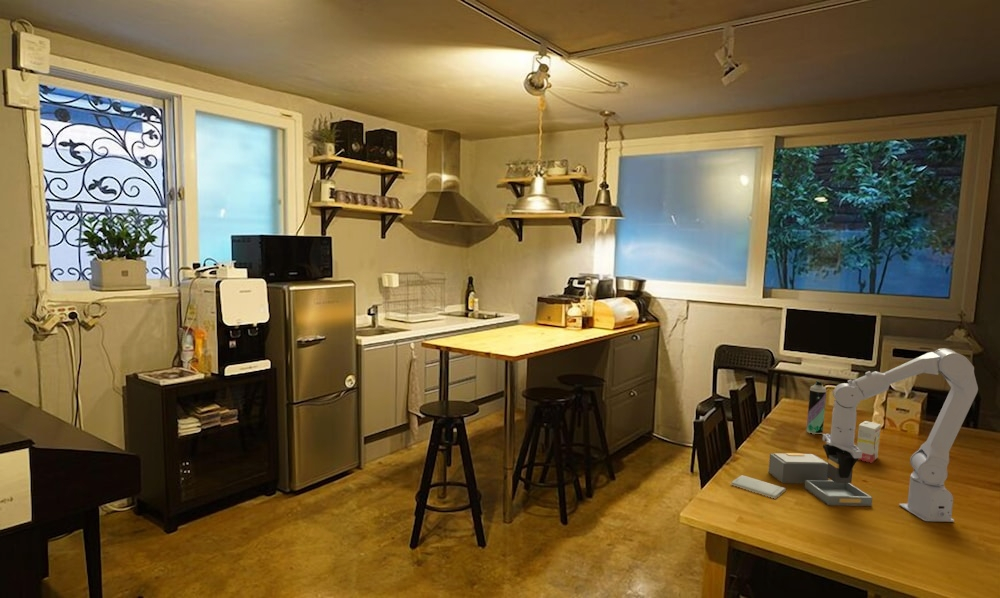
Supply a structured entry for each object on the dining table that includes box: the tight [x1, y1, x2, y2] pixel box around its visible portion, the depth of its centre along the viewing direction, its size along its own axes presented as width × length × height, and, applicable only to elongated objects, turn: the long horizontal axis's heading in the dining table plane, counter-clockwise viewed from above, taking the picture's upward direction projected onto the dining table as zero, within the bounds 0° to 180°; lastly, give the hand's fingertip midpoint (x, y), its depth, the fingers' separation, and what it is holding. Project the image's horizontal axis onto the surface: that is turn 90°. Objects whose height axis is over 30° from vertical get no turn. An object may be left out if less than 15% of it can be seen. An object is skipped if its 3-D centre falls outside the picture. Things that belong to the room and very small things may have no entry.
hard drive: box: [730, 474, 787, 500], centre depth 166 cm, size 2×8×12 cm
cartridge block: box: [827, 455, 854, 484], centre depth 161 cm, size 4×5×6 cm
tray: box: [804, 479, 873, 507], centre depth 162 cm, size 11×12×2 cm
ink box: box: [856, 420, 882, 464], centre depth 193 cm, size 9×5×12 cm, turn 134°
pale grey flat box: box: [768, 452, 830, 484], centre depth 174 cm, size 8×14×6 cm, turn 92°
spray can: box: [806, 380, 827, 435], centre depth 220 cm, size 6×6×20 cm
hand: (838, 474), depth 161 cm, fingers closed on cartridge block, 4 cm apart
